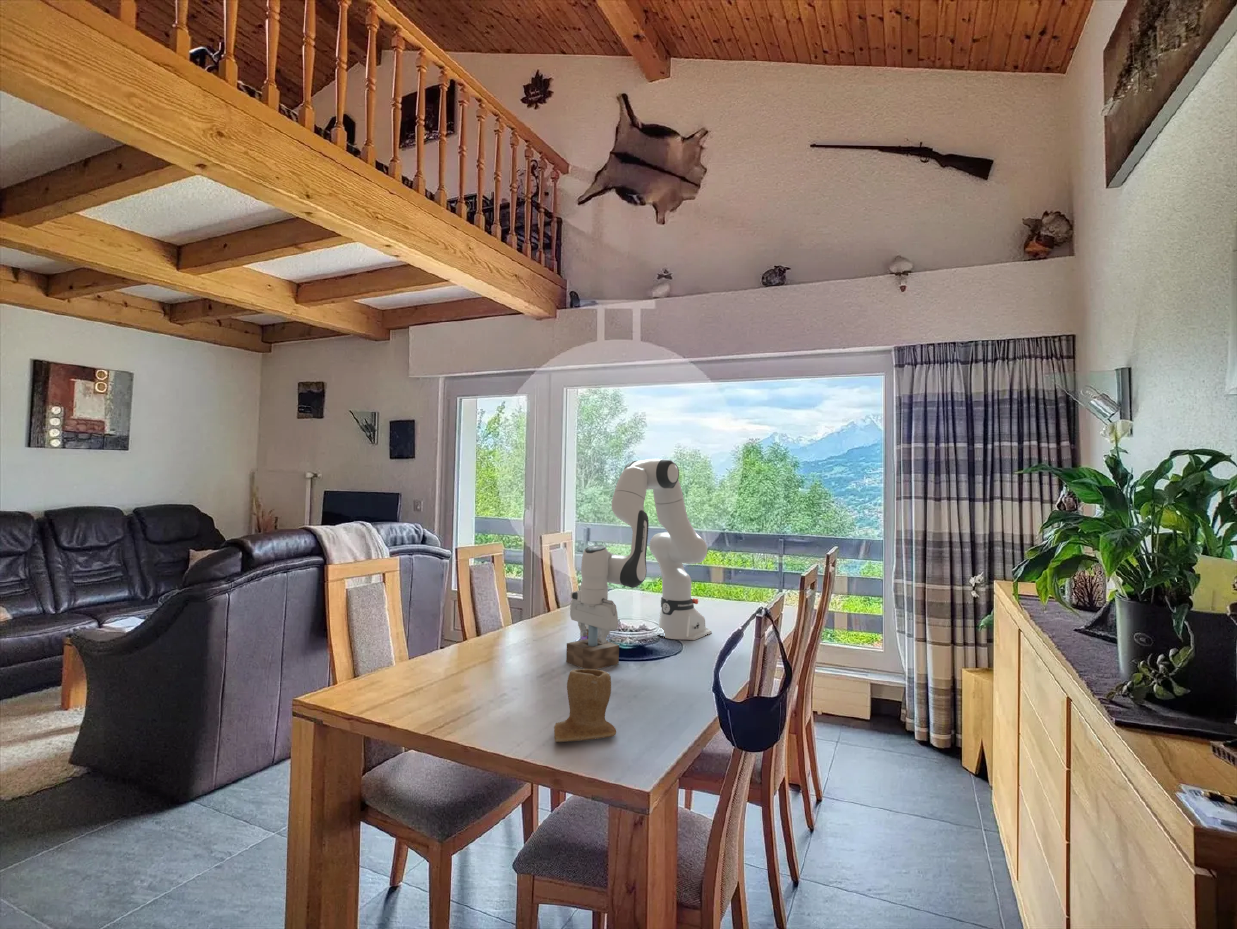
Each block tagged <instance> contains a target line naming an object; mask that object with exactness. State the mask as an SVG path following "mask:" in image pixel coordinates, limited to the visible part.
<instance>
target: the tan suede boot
mask: <svg viewBox="0 0 1237 929" xmlns="http://www.w3.org/2000/svg"><path fill="white" fill-rule="evenodd" d="M566 692H567V699H568V705H569V706H568V707H569V716H568V717H567V719H565V720H563V721H559V722H556V723H555V724H554V727H553V729H554V730H553V732H554V734H553V736H554V737H553V738H554V742H555V743H564V742H565V743H566V742H577V741H578V742H580V741H581V742H582V741H589V740H599V739H604V738H605V739H606V738H611V737H614V736H616V735H617V729H616V727H615V726H614V725H613V724H612V723H610V721H608V720H606V713H607V712H606V711H607V708H608V705H609V701H610V698H611V693H612V680H611V675H610V673H608V672H607V671H604V670H601V669H584V668H578V669H573V670H570V671H569V674H568V676H567V682H566Z"/></svg>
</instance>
